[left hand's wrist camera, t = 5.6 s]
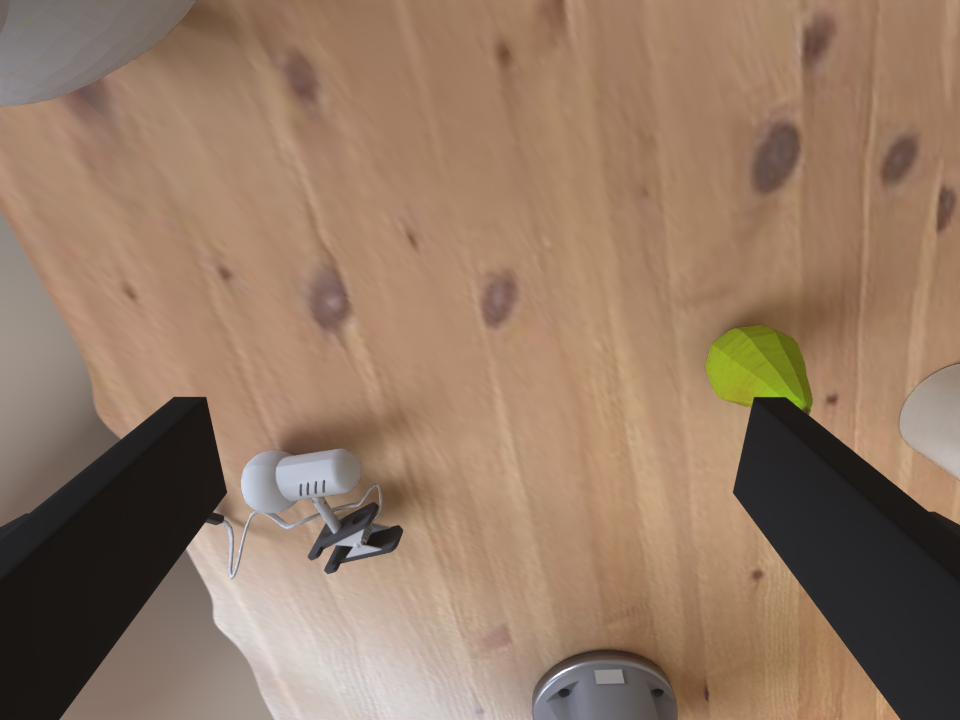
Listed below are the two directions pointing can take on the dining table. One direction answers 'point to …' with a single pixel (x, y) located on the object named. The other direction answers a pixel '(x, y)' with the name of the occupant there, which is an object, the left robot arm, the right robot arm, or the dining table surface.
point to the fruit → (758, 367)
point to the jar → (935, 419)
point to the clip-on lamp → (290, 478)
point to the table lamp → (75, 42)
